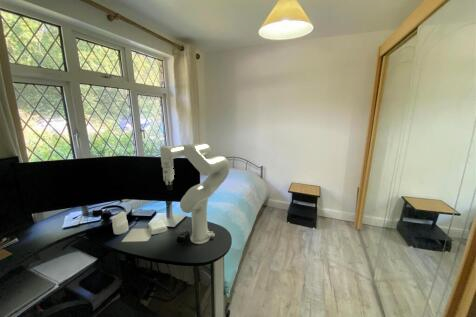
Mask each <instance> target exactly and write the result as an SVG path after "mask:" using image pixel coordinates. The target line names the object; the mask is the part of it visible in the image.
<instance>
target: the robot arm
mask: <svg viewBox="0 0 476 317" xmlns="http://www.w3.org/2000/svg"><path fill="white" fill-rule="evenodd" d="M159 150H160V151H159V152H160V162H161V168H162V176H163V178H162V179H163V182H165V185H166V190H167V191H173V190H174V189H173V181H174V179H175V178H174V175H175V168H174V159H178V158H183V157H185V158H186V159H187V160H188V161H189V162H190V163H191V164H192V165H193V166H194V168H195V169H196V170H197V171H198V172H199V173H200V174H201V175H202V176H207V177H206V179H204V180H203V181H202V182H200V183H198V184H195V185H194V186H191V187H190V188H189V189H188V190H187V191H186V192H185V194H184V195H183V196H182V198H181V200H180V202H179V208H180V210H181V211H182V212H183V213H184V214H185V213H186V214H190V213H191V215H190V217H191V230H192V234H191V235H190V236H189V238H190V241H191V243H193V244H197V245H200V244H205V243H207V242H209V241H210V238H211V237H215V235H216V234H215V233H214V231H210V229H209V228H208V212H207V211H208V202H209V198H210V197H212V195H213V194H214V193H216V191H217V189H219V187H221V185H222V184H223V183H224V182H225V181H226V179H227V178H228V175H229V172H230V163H229V160H228V159H227V158H226V157H225V156H223V155H216V156H213V157H210V158H209V156H210V155H211V153H212V149H211V146H210V145H209V144H208V143H204V142H202V143H191V144H181V145H175V146H171V145H162V146H160V147H159ZM173 168H174V169H173Z"/></svg>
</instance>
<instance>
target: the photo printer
mask: <svg viewBox="0 0 476 317" xmlns="http://www.w3.org/2000/svg"><path fill="white" fill-rule="evenodd" d="M147 226H148V228H149V229H150V231H151V233H152V235H157V234H162V233H165V232H167V231H168V227H167V225H166V224H165V222H164V219H163V220H161V219H160V220H153V221H150V222H148V225H147Z"/></svg>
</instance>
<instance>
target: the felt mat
mask: <svg viewBox="0 0 476 317" xmlns="http://www.w3.org/2000/svg"><path fill="white" fill-rule="evenodd" d="M152 235H153V234H152V233H151V231H150V229H149V227H148V228H147V227H145V228H144V227H143V228H132V229H131V230H130V231H129V232H128V233H127V235H125V237H124V238H123V239H122V240H121V243H132V242H133V243H134V242H135V243H137V242H140V243H141V242H144V243H145V242H148V241H149V240H150V238H151V237H152Z"/></svg>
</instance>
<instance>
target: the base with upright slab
mask: <svg viewBox="0 0 476 317" xmlns="http://www.w3.org/2000/svg"><path fill="white" fill-rule="evenodd" d="M111 221H112V230H113V234H114V235H122V234H125V233H127V232H128V231H129V228H130V227H129V222H128V219H127V212H126V211H121V212H118V213H117V214H115V215H114V216H112V217H111Z"/></svg>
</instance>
